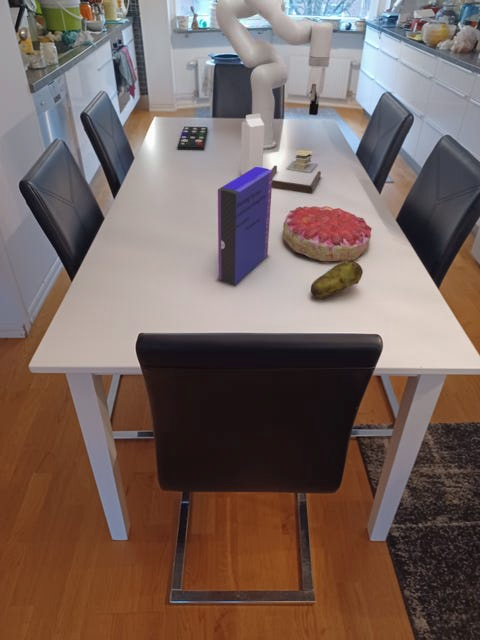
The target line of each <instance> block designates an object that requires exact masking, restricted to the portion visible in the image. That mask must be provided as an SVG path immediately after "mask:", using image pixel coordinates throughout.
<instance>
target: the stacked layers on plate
mask: <svg viewBox="0 0 480 640" xmlns="http://www.w3.org/2000/svg"><path fill="white" fill-rule="evenodd" d="M312 154H313V151H312V150H302V149H300V150H299V149H298V150H297V151H296V153H295V157H294V158H295V161H294V162H292V164H291V165H290V166H289V167H288V168H287V170H291V171H297V172H305V173H311V172H312V171H313V170H314V169H315V167H316V165H317V164H315V163H312V157H313V155H312Z"/></svg>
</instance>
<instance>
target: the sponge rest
mask: <svg viewBox="0 0 480 640" xmlns="http://www.w3.org/2000/svg"><path fill="white" fill-rule="evenodd" d="M270 170H272V171H273V176H272V189H279V190H284V191H285V190H286V191H293V192H300V193H305V194H306V193H307V194H313V192H314V190H315V189H316V186H317V185H318V183H319V181H320V180H321V175H322V174H321V173H322V171H321V170H320V171H317V172H316V175H314V178H313V179H312V181H311V184H304V183H296V182H289V181H282V180H276V179H275V180H274V179H273V178H274V176H275V175H276V174H277V173H278V165H273V167H272V168H271V169H270Z"/></svg>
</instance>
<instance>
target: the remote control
mask: <svg viewBox="0 0 480 640" xmlns="http://www.w3.org/2000/svg"><path fill="white" fill-rule="evenodd" d="M208 128H209V127H208V126H183V129H182V131H181V134H180V137H179V141H178V144H177V151H204V150H205V146H206V141H207V135H208V130H209V129H208Z"/></svg>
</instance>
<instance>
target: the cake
mask: <svg viewBox="0 0 480 640" xmlns="http://www.w3.org/2000/svg"><path fill="white" fill-rule="evenodd" d="M282 225H283V226H282V228H283V229H282V235H281V237H282V239H283V240H284V241H285V242H286V244H287V245H288V246H289V247H290V248H291V249H292V250H293V251H294V252H296V253H298V254H301V255H305V256H306V257H308V258H310V259H314V260H318V261H320V262H335V261H338V262H342V261H346V260H350V261H355V260H357V259H359V257H360V256H361V255H364V253H365V252H366V250H367V248H368V246H369V243H370V241H371V237H372V235H371V233H372V230H373V228H372V227H371V226H370V225H368V224H367V222H366V220H365V219H364V217H360V216H357V215H355V214H353V213H352V212H350V211H346V210H343V209H341V208H339V207H337V208H333V207H330V206H322V207H321V206H320V207H319V206H316V205H315V206H303V207H302V206H298V207H296V208H294V209H292V210H289V213H287V215H286V216H285V219H284V222H283V224H282Z"/></svg>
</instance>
